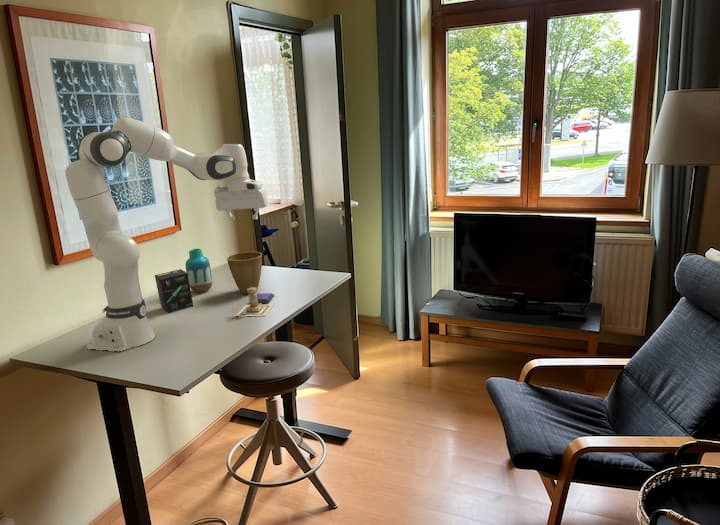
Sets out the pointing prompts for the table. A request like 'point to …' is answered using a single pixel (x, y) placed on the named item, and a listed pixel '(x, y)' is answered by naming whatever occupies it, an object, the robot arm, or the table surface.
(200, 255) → the vase
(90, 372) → the table surface
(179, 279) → the tampon box
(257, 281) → the plant pot
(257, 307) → the stamp
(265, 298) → the ink pad
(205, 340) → the table surface
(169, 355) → the table surface
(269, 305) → the sheet
